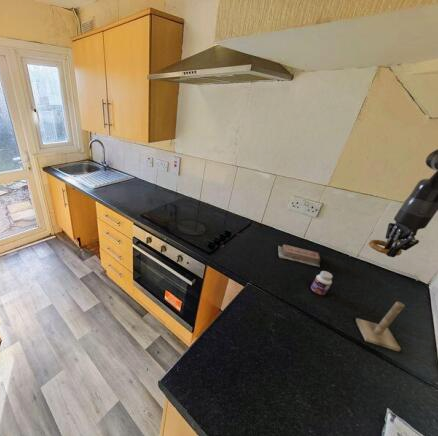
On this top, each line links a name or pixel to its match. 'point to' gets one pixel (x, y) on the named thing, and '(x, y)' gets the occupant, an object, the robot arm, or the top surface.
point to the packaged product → (299, 255)
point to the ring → (375, 246)
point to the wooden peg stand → (381, 329)
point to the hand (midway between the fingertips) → (388, 254)
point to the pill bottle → (322, 283)
